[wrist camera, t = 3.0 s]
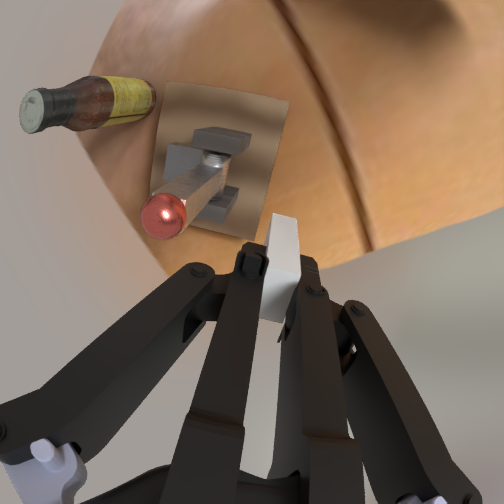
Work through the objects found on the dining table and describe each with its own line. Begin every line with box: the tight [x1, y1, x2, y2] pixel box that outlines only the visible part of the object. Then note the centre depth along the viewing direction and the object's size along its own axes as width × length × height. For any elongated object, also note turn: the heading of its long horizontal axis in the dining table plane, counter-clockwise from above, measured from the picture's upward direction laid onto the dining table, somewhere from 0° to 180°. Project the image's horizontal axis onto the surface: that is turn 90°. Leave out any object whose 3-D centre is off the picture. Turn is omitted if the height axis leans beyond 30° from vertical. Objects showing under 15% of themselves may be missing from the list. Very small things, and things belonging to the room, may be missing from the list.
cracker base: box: [149, 81, 290, 241], centre depth 30 cm, size 18×15×12 cm
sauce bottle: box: [19, 76, 156, 134], centre depth 24 cm, size 6×6×20 cm
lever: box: [140, 142, 231, 240], centre depth 22 cm, size 4×7×16 cm, turn 77°
